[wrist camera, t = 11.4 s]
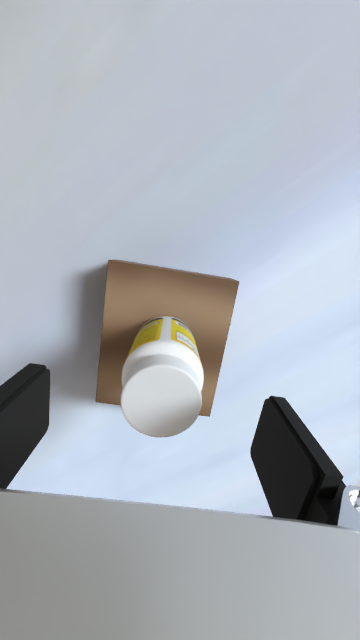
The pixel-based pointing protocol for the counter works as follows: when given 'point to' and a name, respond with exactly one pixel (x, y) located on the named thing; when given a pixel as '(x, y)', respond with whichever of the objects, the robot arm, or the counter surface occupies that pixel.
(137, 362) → the supplement bottle
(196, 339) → the walnut base
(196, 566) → the robot arm
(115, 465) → the counter surface
